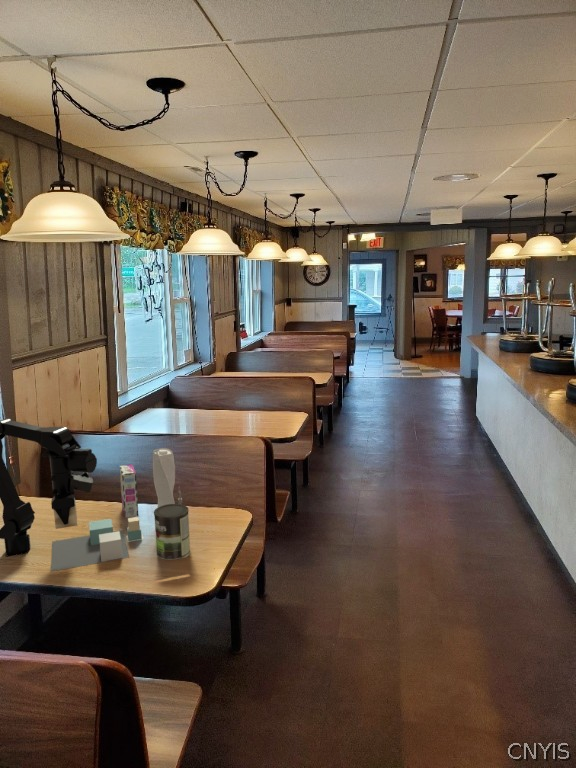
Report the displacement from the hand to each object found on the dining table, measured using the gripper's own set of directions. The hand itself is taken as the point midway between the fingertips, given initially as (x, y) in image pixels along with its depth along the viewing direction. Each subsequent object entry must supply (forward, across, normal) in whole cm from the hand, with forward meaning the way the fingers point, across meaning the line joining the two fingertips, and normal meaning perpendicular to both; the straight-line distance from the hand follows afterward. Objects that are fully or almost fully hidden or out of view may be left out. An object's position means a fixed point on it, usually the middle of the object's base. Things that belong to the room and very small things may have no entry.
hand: (66, 520), depth 176 cm
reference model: (+12, +5, -20) cm, 24 cm away
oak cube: (+1, 0, 0) cm, 1 cm away
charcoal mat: (+12, +2, -6) cm, 14 cm away
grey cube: (+11, -5, -12) cm, 17 cm away
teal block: (+11, +8, -10) cm, 17 cm away
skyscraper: (+12, +13, -32) cm, 36 cm away
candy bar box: (+12, +28, -20) cm, 37 cm away
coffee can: (+12, -9, -30) cm, 34 cm away
